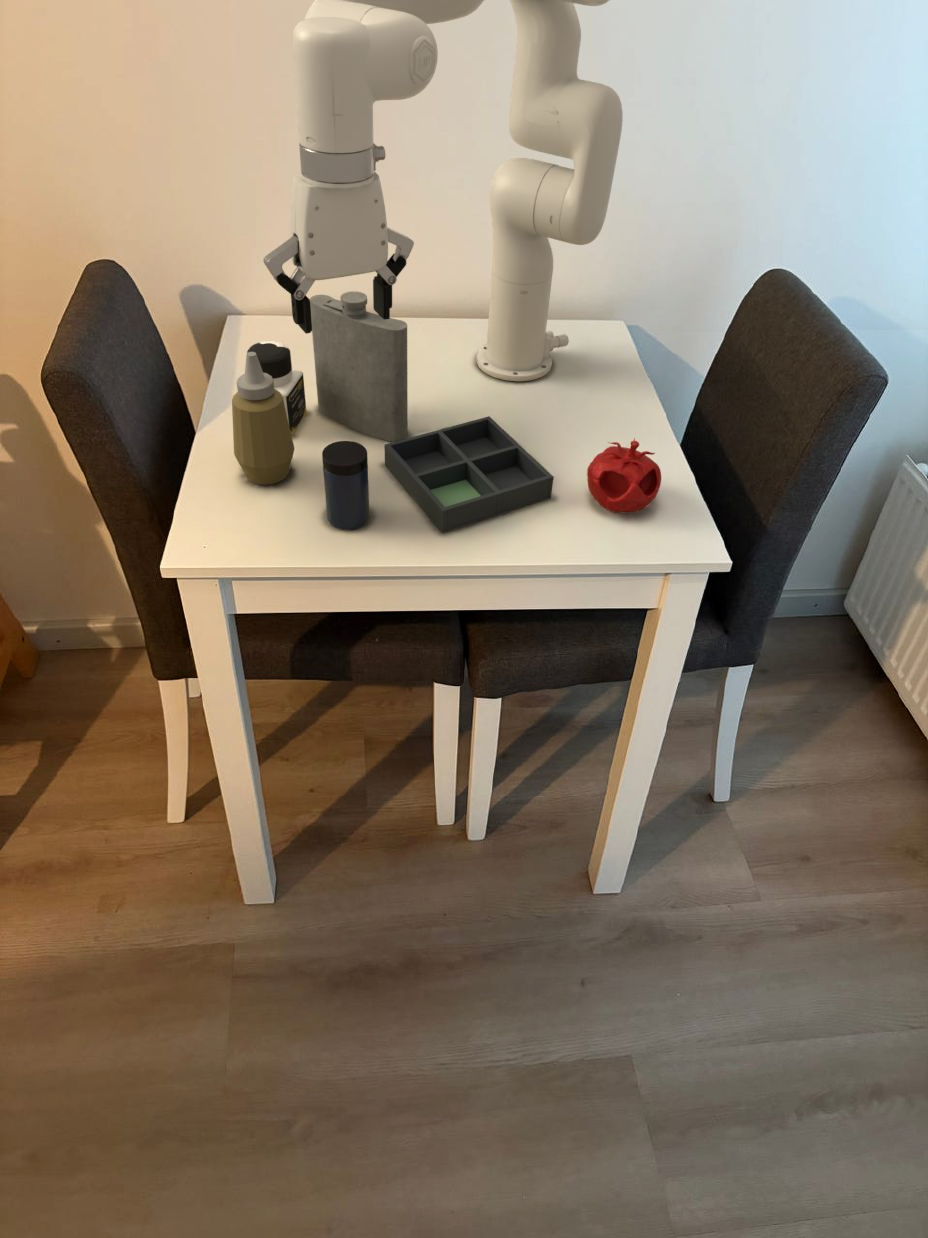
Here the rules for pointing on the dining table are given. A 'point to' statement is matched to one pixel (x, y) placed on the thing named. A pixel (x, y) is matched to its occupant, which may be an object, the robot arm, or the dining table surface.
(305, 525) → the dining table surface
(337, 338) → the hip flask
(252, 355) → the squeeze bottle
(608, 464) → the red hollow tomato
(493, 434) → the tray
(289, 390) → the medicine bottle
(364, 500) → the thermos
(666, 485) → the dining table surface
